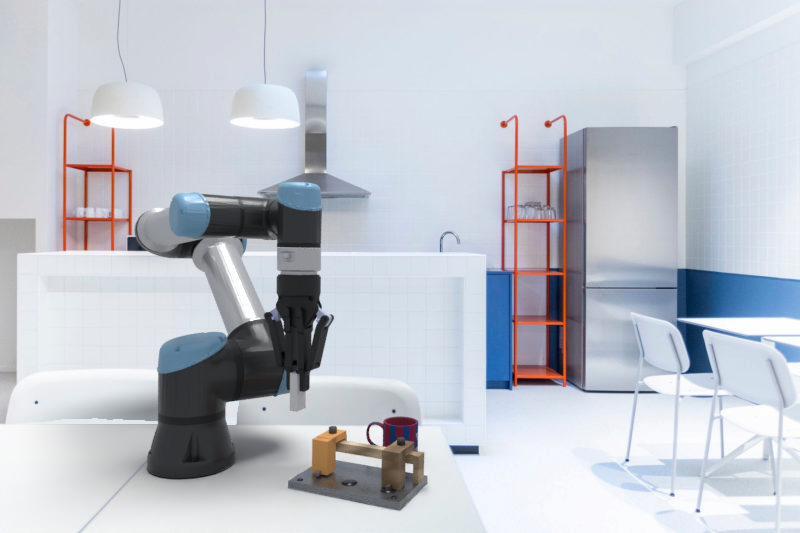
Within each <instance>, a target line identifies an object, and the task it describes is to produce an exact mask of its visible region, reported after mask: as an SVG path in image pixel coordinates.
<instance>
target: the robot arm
mask: <svg viewBox="0 0 800 533" xmlns="http://www.w3.org/2000/svg"><path fill="white" fill-rule="evenodd" d="M321 189H322V188H320V186H319V185H318V184H316V183H313V182H312V183H311V182H301V181H300V182H299V181H287V182H282V183H279V185H278V187H277V191H276V192H277V193H276V195H275V196H276V197H275V198H274V197H273V198H271V197H257V196H256V197H254V196H237V195H222V194H221V195H220V194H208V193H200V192H178V193H175V195H173V197H172V198H171V201H170V204H169V207H154V208H152V209H151V208H150V209H149V210H147V211H145V212H143V213H142V214H141V215H139V217H138V218H137V220H136V222H135V223H134V224H135V225H134V237H135V239H136V241H137V243H138V244H139V245H140V247H142V249H144V250H145V251H147V252H148V253H150V254H153V255H155V256H157V257H161V258H168V259H192V262H193V264H194V266H195V267H196V268H197V269H198V270H199V271H201V272H203V273H204V275H205V277H206V280H207V282H208V284H209V287H210V288H209V289H210V290H211V293H212V296H213V300H214V301H215V304H216V307H217V309H218V313H219V314H220V316H221V317H220V318H221V319H222V323H223V325H224V328H225V330H226V333H227V335H226V334H225V333H224V332H220V331H209V332H208V331H207V332H204V331H203V332H194V333H191V334H190V333H189V334H185V335H181V336H177V337H174V338H171V339H169V340H166V341H165V342H164V343H162V345H161V346H160V348H159V351H158V359H157V360H158V362H157V366H156V367H157V368H156V371H157V375H158V376H157V377H158V378H157V426H156V429H155V432H154V435H153V438H152V441H151V445H150V449H149V450H148V452H147V457H146V460H147V461H146V466H147V467H146V469H147V471H148V473H150V474H152V475H155V476H157V477H162V478H169V479H190V478H191V479H192V478H198V477H204V476H209V475H213V474H216V473H220V472H222V471H224V470H226V469H228V468H230V467H231V466H232V465H234V463H235V461H236V447H235V444H234V443H233V441H232V437H231V433H230V430H229V429H230V428H229V426H228V423H227V419H226V415H227V414H226V406H227V403H230V402H238V401H245V400H253V399H254V400H255V399H259V398H268V397H269V398H270V397H273V398H275V397H278V396H281V395H286V394H289V411H291V412H297V413H298V412H299V411H302V410H304V409H306V408H307V407H306V404H307V403H306V402H307V401H306V400H307V399H306V398H307V397H306V396H307V393H306V392H307V391H309V389H310V387H311V386H310V383H311V382H310V381H311V380H310V378H311V376H310V375H311V371H314V370H317V369H319V368H320V367H321V363H322V359H323V355H324V350H325V345H326V342H327V337H328V333H329V332H328V331H329V328H330V326H331V325H332V323H333V321H334V320H335V316H334V315H333V314H328V313H327V312H326V311H324V310H323V306H322V303H321V300H320V297H321V292H322V290H321V286H322V285H321V284H322V282H321V281H322V280H321V279H322V277H321V275H320V274H318V272H321V270H322V248H321V247H322V223H323V222H322V220H323V219H322V217H323V216H322V213H323V212H322V211H323V204H322V190H321ZM248 239H253V240H255V239H257V240H263V241H265V240H266V241H269V240H271V241H276V271H279V272H280V273H278V274H277V276H276V295H277V301H276V303H275V307H274V308H273V309H271V310H270V311H265V309H264V306H263V304H262V302H261V300H260V297H259V295H258V293H257V291H256V288H255V286H254V284H253V282H252V280H251V277H250V275H249V273H248V271H247V269H246V266H245V264H244V262H243V259H242V257H243V255H244V254H245V252H246V249H247V245H248ZM314 322H316V323H317V324H316V326H315V329H314ZM313 331H314V332H313ZM312 332H313V337H312Z"/></svg>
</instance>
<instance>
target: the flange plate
mask: <svg viewBox="0 0 800 533" xmlns="http://www.w3.org/2000/svg"><path fill="white" fill-rule="evenodd" d="M381 475H382V467H381V466H380V467H379V466H373V465H367V464H362V463H361V464H360V463H355V462H350V461H349V462H348V461H345V460H339V459H338V460H337V459H336V466H335V471H333V472H332V473H330V474H329V475H322V474H321V475H320V476H314V473H312V465H311V466H309V467H308V468H307V469H305V470H303V471H301V472H300V473H299V474H297V475H296V476H294V477H292V478H290V479H289V480H288V481H287V488H288V489H292V490H297V491H301V492H307V493H310V494H311V493H312V494H315V495H321V496H326V497H332V498H337V499H342V500H347V501H351V502H357V503H361V504H366V505H372V506H377V507H382V508H387V509H392V510H398V511H401V510H402V508H404V507H405V505H407V504H408V503H409V502H410V501H411V500H412V499H413V498H414V497H415V496H416V495H417V494H418V493H419V491H421V490H422V488H424V487H425V486H426V485H427V484H428V475H426V474H425V475H424V480H423V481H422V482H420V483H419V484H414V483H413V472H408V471H405V485H404V486H403V487H402V488H401V489H399V490H396V489H391V490H390V491H385V487H381Z"/></svg>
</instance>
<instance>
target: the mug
mask: <svg viewBox="0 0 800 533" xmlns="http://www.w3.org/2000/svg"><path fill="white" fill-rule="evenodd" d="M375 425H376V426H378V427H380V428H381V429H382V446H383V447H387V446H389V445H391V444H392V443H394V442H395V441H397V438H398V437H404V438H405V441H412V442H414V451H415V452H418V451H419V420H418V419H416V418H414V417H409V416H390V417H387V418H385V419H384V420H383V421H382V422H379V421H372V422H370V423H368V425H367V428H366V432H365V434H366V435H365V436H366V440H367V442H368V444H370V445H376V446H379V445H378V444H376V443H374V442H373V440H372V439H371V437H370V428H371V427H372V426H375Z"/></svg>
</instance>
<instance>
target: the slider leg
mask: <svg viewBox="0 0 800 533" xmlns="http://www.w3.org/2000/svg"><path fill="white" fill-rule="evenodd" d="M341 440H344V441H348V435H347V430H343V429H339V428H338V426H336V425H331V426H330V425H329V427H328V430H326V431H324V432H322V433H320V434H319V435H317V436H315V437H314V438H312V440H311V452H312V453H311V466H312V473H314V476H320V475H321V474H322V475H329V474H330V473H332V472H333V471H335V466H336V460H337V458H336V453H337V452H336V443H337V442H339V441H341Z"/></svg>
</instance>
